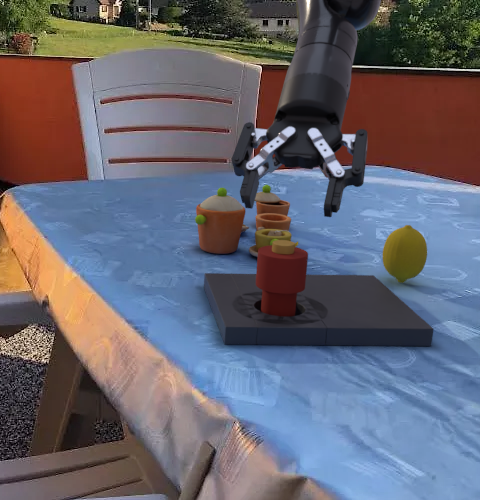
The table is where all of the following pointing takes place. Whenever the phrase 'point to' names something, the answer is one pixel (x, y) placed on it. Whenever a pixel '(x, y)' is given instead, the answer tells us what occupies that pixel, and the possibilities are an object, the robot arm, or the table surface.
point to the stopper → (281, 276)
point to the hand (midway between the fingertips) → (286, 208)
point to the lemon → (404, 253)
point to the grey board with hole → (316, 313)
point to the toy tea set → (241, 222)
